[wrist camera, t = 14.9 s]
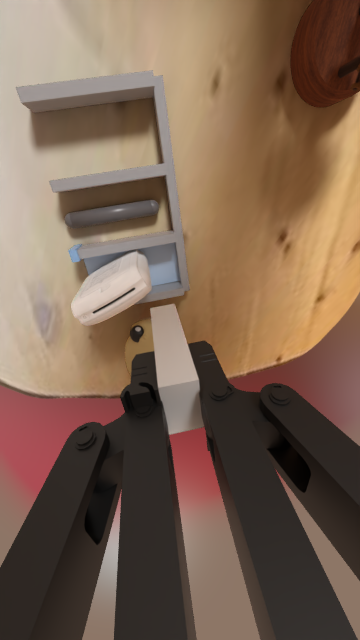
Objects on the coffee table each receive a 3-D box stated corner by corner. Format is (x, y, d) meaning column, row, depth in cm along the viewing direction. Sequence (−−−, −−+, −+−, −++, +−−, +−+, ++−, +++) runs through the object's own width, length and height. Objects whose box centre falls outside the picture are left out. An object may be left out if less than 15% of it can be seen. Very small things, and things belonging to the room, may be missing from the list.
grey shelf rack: (23, 99, 27) (8, 86, 23) (160, 82, 28) (164, 67, 25) (95, 304, 39) (91, 314, 36) (187, 287, 41) (192, 295, 37)
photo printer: (99, 299, 39) (84, 339, 28) (81, 277, 37) (59, 312, 26) (153, 267, 38) (159, 297, 27) (138, 243, 36) (139, 265, 25)
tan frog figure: (180, 304, 42) (193, 336, 33) (176, 359, 48) (186, 399, 38) (124, 304, 40) (120, 337, 31) (126, 361, 46) (123, 403, 37)
